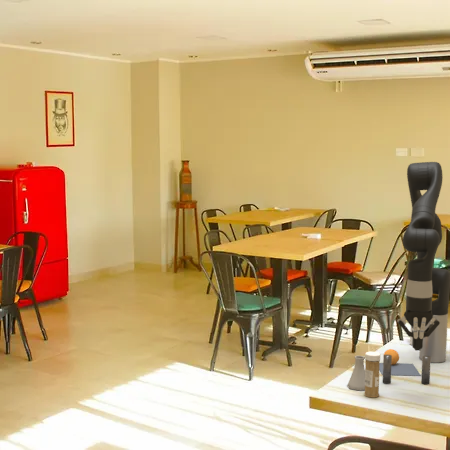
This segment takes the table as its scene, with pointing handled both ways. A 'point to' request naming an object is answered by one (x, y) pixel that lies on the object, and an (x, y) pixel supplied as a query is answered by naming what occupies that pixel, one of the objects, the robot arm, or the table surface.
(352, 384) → the flask
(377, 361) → the sprinkles bottle
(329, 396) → the table surface
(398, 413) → the table surface
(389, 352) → the ball
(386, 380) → the post
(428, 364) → the post
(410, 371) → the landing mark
